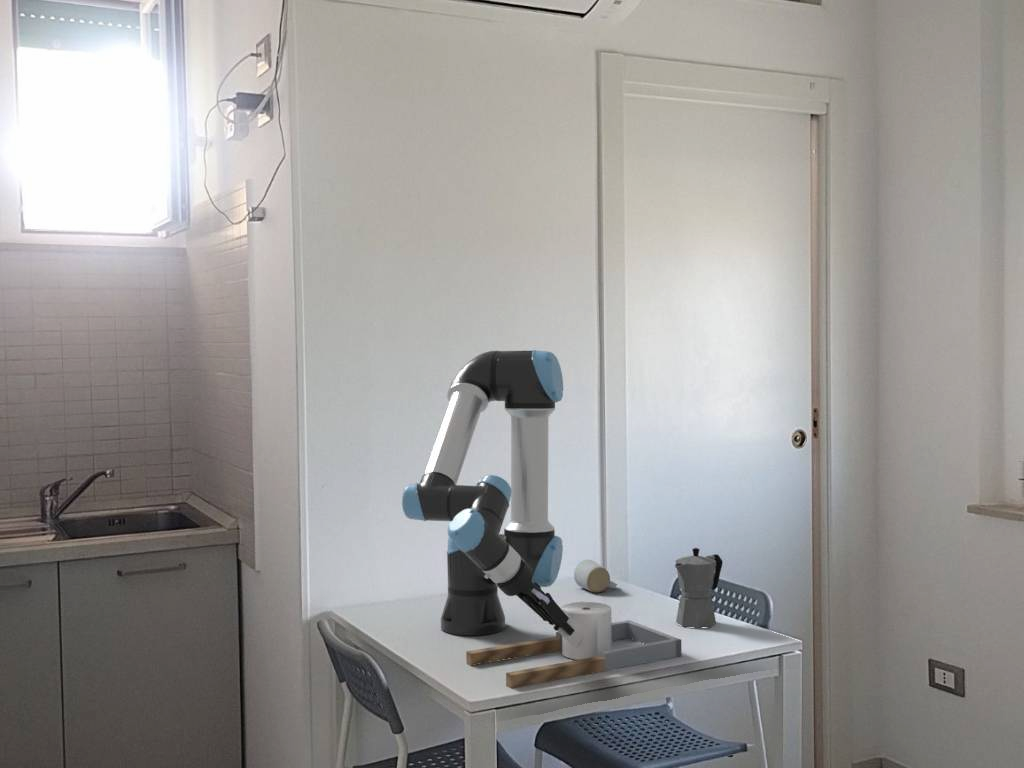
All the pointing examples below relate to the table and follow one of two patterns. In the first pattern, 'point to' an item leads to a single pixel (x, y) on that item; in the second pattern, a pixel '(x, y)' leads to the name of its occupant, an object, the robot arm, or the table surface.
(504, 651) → the slot lane
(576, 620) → the toilet tissue
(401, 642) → the table surface
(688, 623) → the coffeepot
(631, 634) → the tray
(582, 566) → the ceramic mug
